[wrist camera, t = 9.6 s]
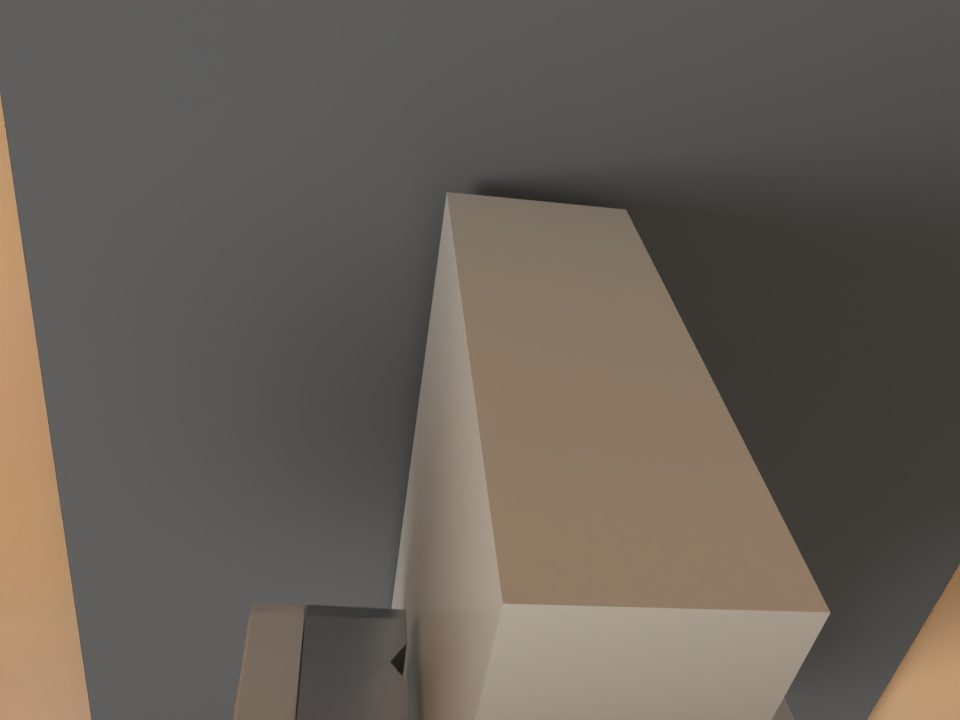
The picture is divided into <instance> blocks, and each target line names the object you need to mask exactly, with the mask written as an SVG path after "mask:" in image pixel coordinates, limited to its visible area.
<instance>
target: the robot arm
mask: <svg viewBox="0 0 960 720" xmlns="http://www.w3.org/2000/svg"><path fill="white" fill-rule="evenodd" d="M406 649H407V621H406V611H405V610H404V609H385V608H365V607H345V606H325V605H307V607H306V617H305V605H292V604H269V603H254V605H253V608H252V611H251V613H250V616H249V622H248V628H247V634H246V641H245V647H244V653H243V660H242V666H241V673H240V679H239V685H238V692H237V698H236V704H235V711H234V717H233V720H409V684H408V682H407V681H406V680H405V679H404V678H403V671H404V664H405V656H406ZM772 720H794V718H793V716H792V714H791V711H790V709H789V707H788V705H787V703H786V700H785V698H783V700H782V702H781V704H780V705H779V707H778V709H777V711H776V713H775V714H774V716H773V718H772Z"/></svg>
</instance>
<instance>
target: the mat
mask: <svg viewBox="0 0 960 720" xmlns="http://www.w3.org/2000/svg"><path fill="white" fill-rule="evenodd" d="M0 93H1V100H2V107H3V114H4V121H5V127H6V134H7V141H8V148H9V155H10V162H11V169H12V176H13V182H14V189H15V196H16V203H17V210H18V217H19V224H20V231H21V237H22V244H23V251H24V258H25V265H26V272H27V279H28V286H29V292H30V299H31V306H32V313H33V320H34V327H35V334H36V341H37V347H38V354H39V361H40V368H41V375H42V382H43V389H44V396H45V402H46V409H47V416H48V423H49V430H50V437H51V444H52V451H53V457H54V464H55V471H56V478H57V485H58V492H59V499H60V506H61V512H62V519H63V526H64V533H65V540H66V547H67V554H68V561H69V567H70V574H71V581H72V588H73V595H74V602H75V609H76V616H77V622H78V629H79V636H80V643H81V650H82V657H83V664H84V671H85V677H86V684H87V691H88V698H89V705H90V712H91V719H92V720H233V717H234V711H235V704H236V698H237V692H238V685H239V679H240V673H241V666H242V660H243V653H244V647H245V641H246V634H247V628H248V622H249V616H250V613H251V611H252V608H253V605H254V603H269V604H292V605H305V617H306V607H307V605H325V606H345V607H365V608H385V609H391V608H392V600H393V593H394V585H395V578H396V570H397V563H398V555H399V548H400V540H401V533H402V525H403V518H404V510H405V502H406V495H407V487H408V480H409V472H410V465H411V457H412V450H413V442H414V435H415V427H416V420H417V412H418V405H419V397H420V390H421V382H422V375H423V367H424V360H425V352H426V344H427V337H428V329H429V322H430V314H431V307H432V299H433V292H434V284H435V277H436V269H437V262H438V254H439V247H440V239H441V232H442V224H443V217H444V209H445V202H446V194H447V192H452V193H462V194H472V195H482V196H493V197H503V198H513V199H523V200H533V201H544V202H554V203H564V204H574V205H585V206H595V207H605V208H615V209H625V210H626V211H627V213H628V215H629V217H630V219H631V220H632V222H633V224H634V226H635V228H636V230H637V232H638V234H639V236H640V238H641V240H642V242H643V244H644V246H645V248H646V250H647V252H648V254H649V256H650V258H651V260H652V262H653V264H654V266H655V268H656V270H657V272H658V274H659V276H660V278H661V280H662V282H663V284H664V285H665V287H666V289H667V291H668V293H669V295H670V297H671V299H672V301H673V303H674V305H675V307H676V309H677V311H678V313H679V315H680V317H681V319H682V321H683V323H684V325H685V327H686V329H687V331H688V333H689V335H690V337H691V339H692V341H693V343H694V345H695V347H696V348H697V350H698V352H699V354H700V356H701V358H702V360H703V362H704V364H705V366H706V368H707V370H708V372H709V374H710V376H711V378H712V380H713V382H714V384H715V386H716V388H717V390H718V392H719V394H720V396H721V398H722V400H723V402H724V404H725V406H726V408H727V410H728V412H729V413H730V415H731V417H732V419H733V421H734V423H735V425H736V427H737V429H738V431H739V433H740V435H741V437H742V439H743V441H744V443H745V445H746V447H747V449H748V451H749V453H750V455H751V457H752V459H753V461H754V463H755V465H756V467H757V469H758V471H759V473H760V475H761V477H762V478H763V480H764V482H765V484H766V486H767V488H768V490H769V492H770V494H771V496H772V498H773V500H774V502H775V504H776V506H777V508H778V510H779V512H780V514H781V516H782V518H783V520H784V522H785V524H786V526H787V528H788V530H789V532H790V534H791V536H792V538H793V540H794V542H795V543H796V545H797V547H798V549H799V551H800V553H801V555H802V557H803V559H804V561H805V563H806V565H807V567H808V569H809V571H810V573H811V575H812V577H813V579H814V581H815V583H816V585H817V587H818V589H819V591H820V593H821V595H822V597H823V599H824V601H825V603H826V605H827V607H828V608H829V610H830V612H831V613H830V614H829V616H828V618H827V620H826V622H825V623H824V625H823V627H822V629H821V631H820V633H819V634H818V636H817V638H816V640H815V642H814V644H813V645H812V647H811V649H810V651H809V653H808V654H807V656H806V658H805V660H804V662H803V664H802V665H801V667H800V669H799V671H798V673H797V674H796V676H795V678H794V680H793V682H792V684H791V685H790V687H789V689H788V691H787V693H786V694H785V696H784V698H785V700H786V703H787V705H788V707H789V709H790V711H791V714H792V716H793V718H794V720H867V718H868V717H869V715H870V713H871V712H872V710H873V708H874V706H875V705H876V703H877V701H878V700H879V698H880V696H881V695H882V693H883V691H884V690H885V688H886V686H887V685H888V683H889V681H890V680H891V678H892V676H893V675H894V673H895V671H896V670H897V668H898V666H899V665H900V663H901V661H902V660H903V658H904V656H905V654H906V653H907V651H908V649H909V648H910V646H911V644H912V643H913V641H914V639H915V638H916V636H917V634H918V633H919V631H920V629H921V628H922V626H923V624H924V623H925V621H926V619H927V618H928V616H929V614H930V613H931V611H932V609H933V608H934V606H935V604H936V602H937V601H938V599H939V597H940V596H941V594H942V592H943V591H944V589H945V587H946V586H947V584H948V582H949V581H950V579H951V577H952V576H953V574H954V572H955V571H956V569H957V567H958V566H959V564H960V0H0Z"/></svg>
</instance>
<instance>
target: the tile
mask: <svg viewBox="0 0 960 720" xmlns="http://www.w3.org/2000/svg"><path fill="white" fill-rule="evenodd" d="M391 609H404V610H405V611H406V621H407V649H406V656H405V664H404V671H403V678H404V679H405V680H406V681H407V682H408V684H409V720H772V718H773V716H774V714H775V713H776V711H777V709H778V707H779V705H780V704H781V702H782V700H783V698H784V696H785V694H786V693H787V691H788V689H789V687H790V685H791V684H792V682H793V680H794V678H795V676H796V674H797V673H798V671H799V669H800V667H801V665H802V664H803V662H804V660H805V658H806V656H807V654H808V653H809V651H810V649H811V647H812V645H813V644H814V642H815V640H816V638H817V636H818V634H819V633H820V631H821V629H822V627H823V625H824V623H825V622H826V620H827V618H828V616H829V614H830V613H831V612H830V610H829V608H828V607H827V605H826V603H825V601H824V599H823V597H822V595H821V593H820V591H819V589H818V587H817V585H816V583H815V581H814V579H813V577H812V575H811V573H810V571H809V569H808V567H807V565H806V563H805V561H804V559H803V557H802V555H801V553H800V551H799V549H798V547H797V545H796V543H795V542H794V540H793V538H792V536H791V534H790V532H789V530H788V528H787V526H786V524H785V522H784V520H783V518H782V516H781V514H780V512H779V510H778V508H777V506H776V504H775V502H774V500H773V498H772V496H771V494H770V492H769V490H768V488H767V486H766V484H765V482H764V480H763V478H762V477H761V475H760V473H759V471H758V469H757V467H756V465H755V463H754V461H753V459H752V457H751V455H750V453H749V451H748V449H747V447H746V445H745V443H744V441H743V439H742V437H741V435H740V433H739V431H738V429H737V427H736V425H735V423H734V421H733V419H732V417H731V415H730V413H729V412H728V410H727V408H726V406H725V404H724V402H723V400H722V398H721V396H720V394H719V392H718V390H717V388H716V386H715V384H714V382H713V380H712V378H711V376H710V374H709V372H708V370H707V368H706V366H705V364H704V362H703V360H702V358H701V356H700V354H699V352H698V350H697V348H696V347H695V345H694V343H693V341H692V339H691V337H690V335H689V333H688V331H687V329H686V327H685V325H684V323H683V321H682V319H681V317H680V315H679V313H678V311H677V309H676V307H675V305H674V303H673V301H672V299H671V297H670V295H669V293H668V291H667V289H666V287H665V285H664V284H663V282H662V280H661V278H660V276H659V274H658V272H657V270H656V268H655V266H654V264H653V262H652V260H651V258H650V256H649V254H648V252H647V250H646V248H645V246H644V244H643V242H642V240H641V238H640V236H639V234H638V232H637V230H636V228H635V226H634V224H633V222H632V220H631V219H630V217H629V215H628V213H627V211H626V210H625V209H615V208H605V207H595V206H585V205H574V204H564V203H554V202H544V201H533V200H523V199H513V198H503V197H493V196H482V195H472V194H462V193H452V192H447V194H446V202H445V209H444V217H443V224H442V232H441V239H440V247H439V254H438V262H437V269H436V277H435V284H434V292H433V299H432V307H431V314H430V322H429V329H428V337H427V344H426V352H425V360H424V367H423V375H422V382H421V390H420V397H419V405H418V412H417V420H416V427H415V435H414V442H413V450H412V457H411V465H410V472H409V480H408V487H407V495H406V502H405V510H404V518H403V525H402V533H401V540H400V548H399V555H398V563H397V570H396V578H395V585H394V593H393V600H392V608H391Z"/></svg>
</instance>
